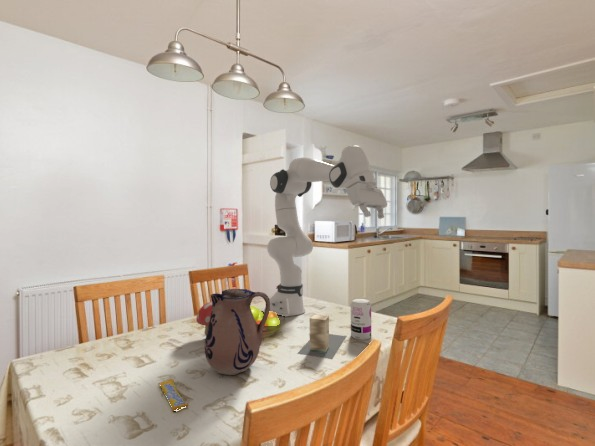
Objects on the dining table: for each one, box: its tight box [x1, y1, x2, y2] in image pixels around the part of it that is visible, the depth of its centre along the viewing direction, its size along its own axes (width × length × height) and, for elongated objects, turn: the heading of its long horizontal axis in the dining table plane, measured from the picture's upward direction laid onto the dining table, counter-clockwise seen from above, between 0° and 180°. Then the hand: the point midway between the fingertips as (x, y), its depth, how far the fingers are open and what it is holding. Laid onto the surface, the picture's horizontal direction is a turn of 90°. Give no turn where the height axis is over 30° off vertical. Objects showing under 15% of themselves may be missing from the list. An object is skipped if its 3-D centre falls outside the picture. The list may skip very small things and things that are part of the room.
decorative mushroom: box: [195, 301, 212, 336], centre depth 131 cm, size 13×13×15 cm
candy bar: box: [158, 378, 189, 412], centre depth 89 cm, size 17×4×2 cm, turn 35°
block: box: [309, 314, 330, 353], centre depth 118 cm, size 6×4×12 cm
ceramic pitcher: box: [204, 288, 270, 376], centre depth 105 cm, size 18×21×25 cm
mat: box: [296, 333, 347, 360], centre depth 123 cm, size 13×22×1 cm, turn 158°
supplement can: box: [350, 298, 372, 341], centre depth 130 cm, size 8×8×15 cm
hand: (375, 217), depth 116 cm, fingers open, 8 cm apart
